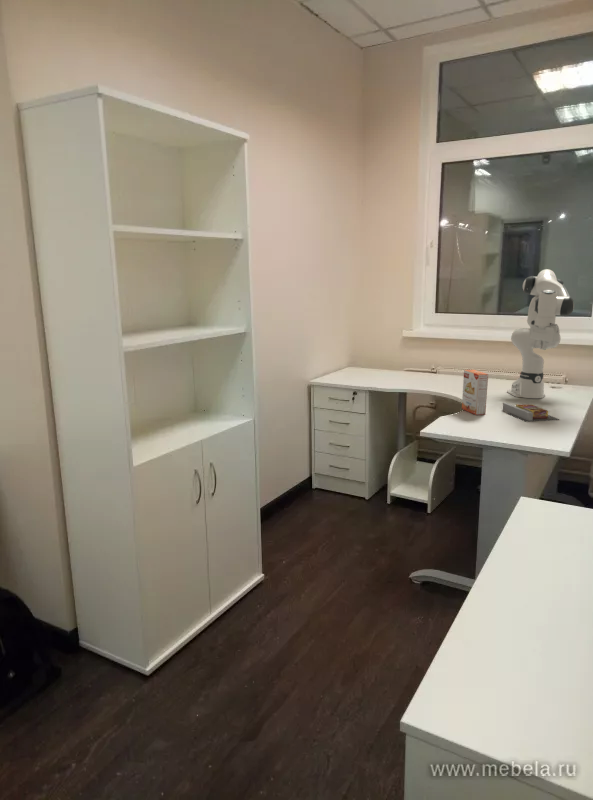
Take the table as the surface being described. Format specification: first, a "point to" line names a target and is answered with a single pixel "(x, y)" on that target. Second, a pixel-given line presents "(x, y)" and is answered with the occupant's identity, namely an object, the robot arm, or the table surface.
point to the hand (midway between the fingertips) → (543, 349)
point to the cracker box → (474, 392)
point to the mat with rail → (522, 413)
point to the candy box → (535, 411)
